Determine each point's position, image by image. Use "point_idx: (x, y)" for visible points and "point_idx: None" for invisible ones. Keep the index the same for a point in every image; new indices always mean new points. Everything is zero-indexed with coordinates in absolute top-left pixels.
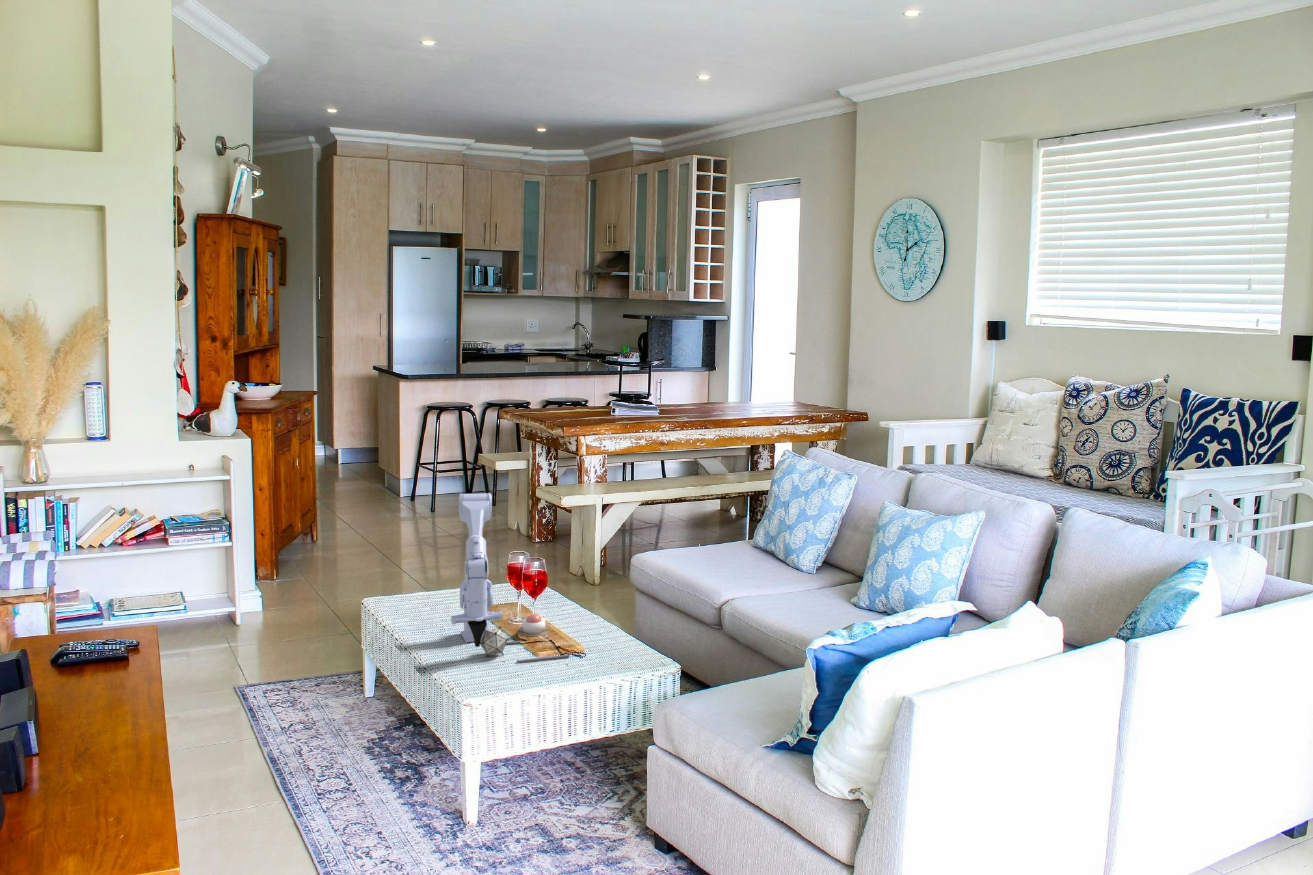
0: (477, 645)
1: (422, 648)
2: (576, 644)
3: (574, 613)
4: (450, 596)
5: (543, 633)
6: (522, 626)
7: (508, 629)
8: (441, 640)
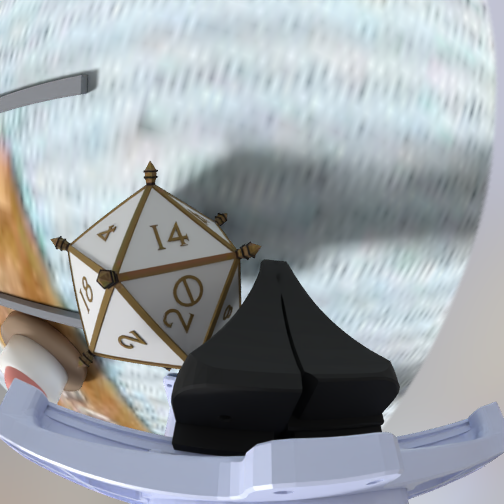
0: (278, 263)
1: (402, 374)
2: None
3: None
4: None
5: (9, 327)
6: (59, 382)
7: (116, 404)
8: None
